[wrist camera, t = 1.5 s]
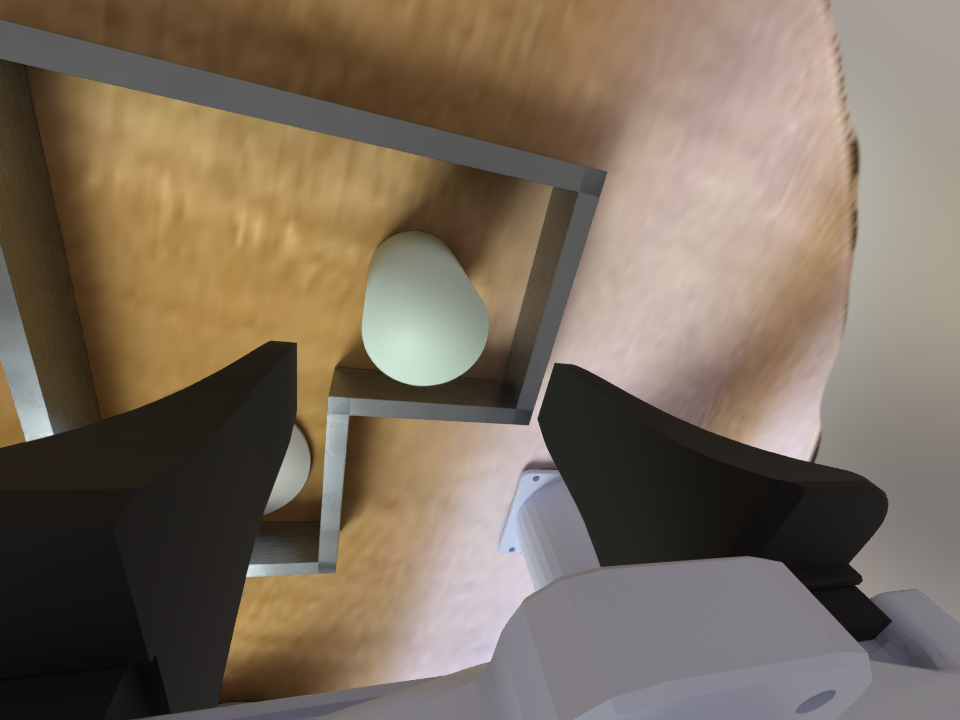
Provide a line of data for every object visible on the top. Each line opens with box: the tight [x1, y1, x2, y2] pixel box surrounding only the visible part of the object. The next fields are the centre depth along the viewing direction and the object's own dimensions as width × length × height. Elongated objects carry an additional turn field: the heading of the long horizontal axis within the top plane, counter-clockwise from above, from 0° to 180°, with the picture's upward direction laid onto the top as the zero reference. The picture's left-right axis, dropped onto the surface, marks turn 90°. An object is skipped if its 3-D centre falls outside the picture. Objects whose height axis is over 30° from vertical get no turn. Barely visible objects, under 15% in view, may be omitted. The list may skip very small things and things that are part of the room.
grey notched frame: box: [0, 20, 607, 577], centre depth 21 cm, size 22×24×3 cm
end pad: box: [263, 422, 311, 515], centre depth 23 cm, size 9×9×1 cm
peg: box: [362, 231, 489, 386], centre depth 18 cm, size 4×4×7 cm
